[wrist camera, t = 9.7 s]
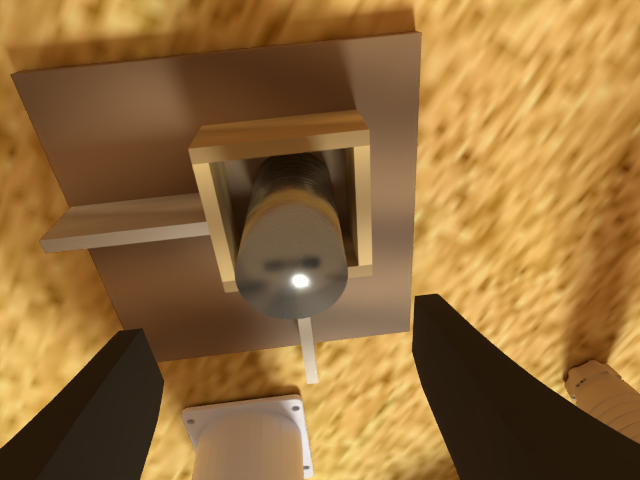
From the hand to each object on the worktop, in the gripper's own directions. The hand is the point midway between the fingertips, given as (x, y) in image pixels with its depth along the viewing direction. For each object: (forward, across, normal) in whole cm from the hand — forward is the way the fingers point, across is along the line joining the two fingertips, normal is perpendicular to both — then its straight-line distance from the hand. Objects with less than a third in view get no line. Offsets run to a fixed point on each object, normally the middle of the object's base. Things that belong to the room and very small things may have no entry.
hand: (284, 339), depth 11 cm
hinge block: (+10, +2, +2) cm, 11 cm away
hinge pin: (+10, 0, 0) cm, 10 cm away
